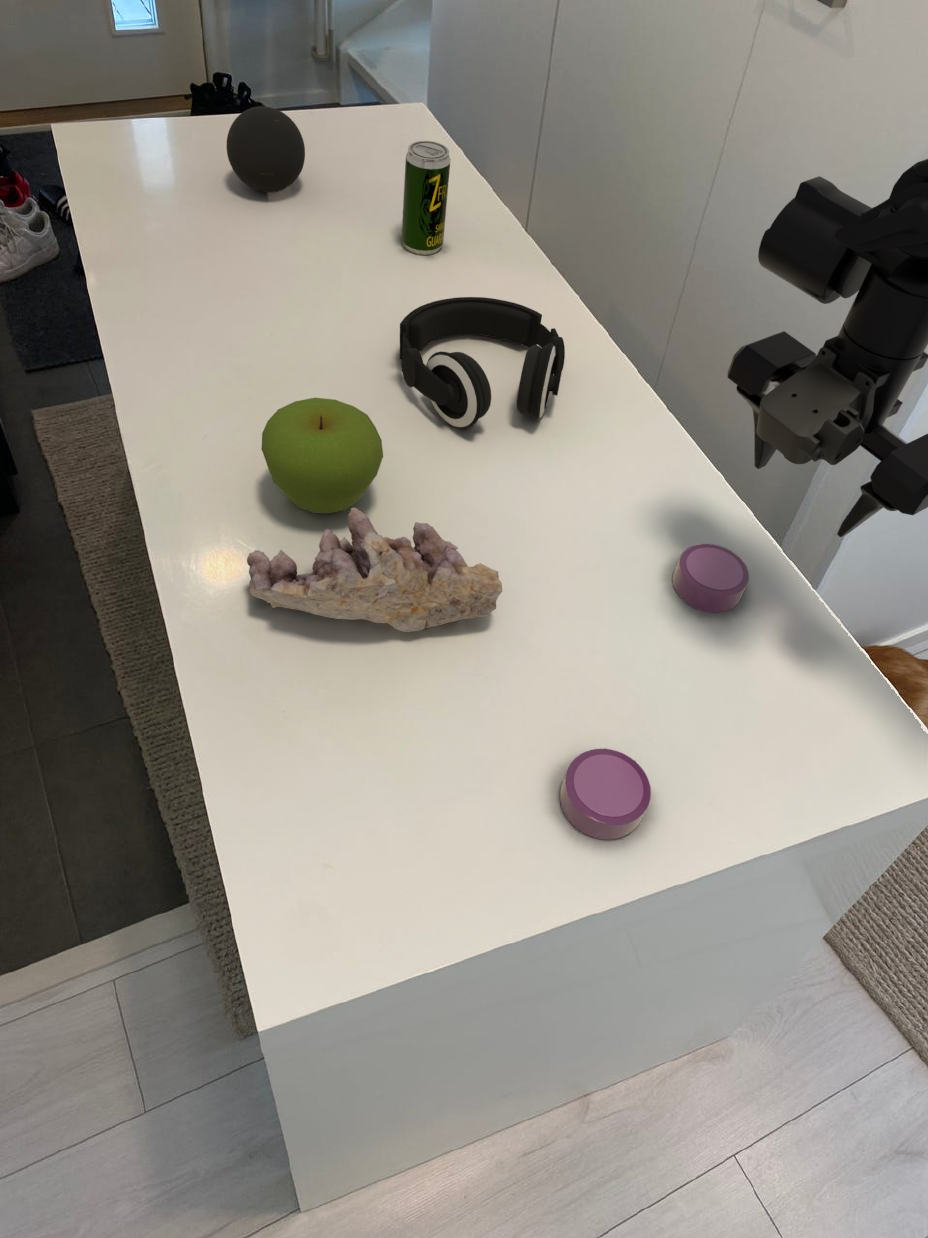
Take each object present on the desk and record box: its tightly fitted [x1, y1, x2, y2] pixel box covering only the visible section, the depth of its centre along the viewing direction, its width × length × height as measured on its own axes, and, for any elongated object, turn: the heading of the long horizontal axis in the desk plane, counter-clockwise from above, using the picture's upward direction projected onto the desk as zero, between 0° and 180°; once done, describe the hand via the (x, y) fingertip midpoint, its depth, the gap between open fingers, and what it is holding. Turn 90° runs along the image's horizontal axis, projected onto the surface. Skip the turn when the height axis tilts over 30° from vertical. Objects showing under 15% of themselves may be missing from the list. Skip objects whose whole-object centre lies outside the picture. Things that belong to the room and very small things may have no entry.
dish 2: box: [672, 543, 750, 613], centre depth 86 cm, size 6×6×2 cm
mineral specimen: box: [246, 507, 503, 633], centre depth 78 cm, size 20×10×10 cm
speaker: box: [226, 106, 306, 193], centre depth 122 cm, size 10×10×10 cm
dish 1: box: [559, 748, 652, 841], centre depth 70 cm, size 6×6×2 cm
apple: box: [261, 397, 384, 514], centre depth 85 cm, size 11×10×10 cm
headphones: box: [399, 296, 566, 430], centre depth 100 cm, size 18×8×20 cm
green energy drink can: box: [401, 140, 451, 256], centre depth 116 cm, size 5×5×12 cm
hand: (799, 499), depth 77 cm, fingers open, 9 cm apart
